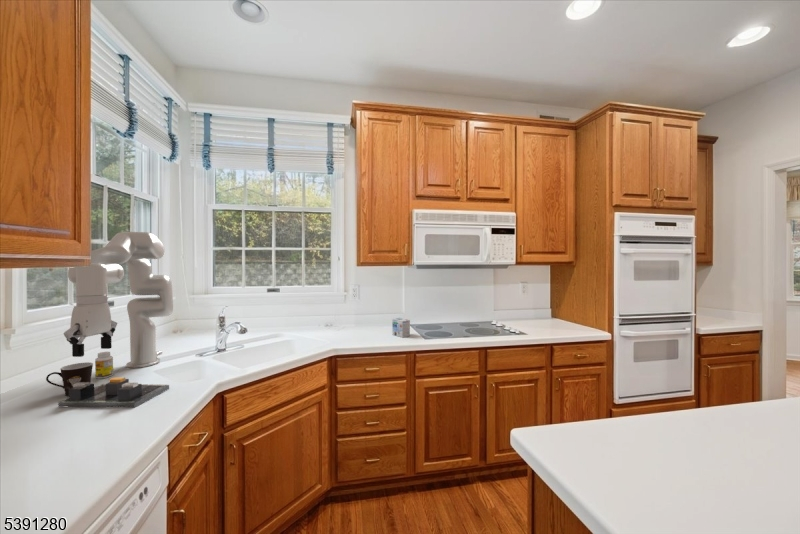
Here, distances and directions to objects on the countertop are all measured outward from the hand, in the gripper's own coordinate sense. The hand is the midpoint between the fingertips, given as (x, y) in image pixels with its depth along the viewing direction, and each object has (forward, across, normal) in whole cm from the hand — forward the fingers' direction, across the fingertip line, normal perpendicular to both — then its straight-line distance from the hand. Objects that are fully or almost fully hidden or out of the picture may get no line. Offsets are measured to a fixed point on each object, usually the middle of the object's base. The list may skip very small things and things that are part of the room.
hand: (92, 352), depth 108 cm
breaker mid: (+17, -10, 0) cm, 20 cm away
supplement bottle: (+19, -30, -24) cm, 43 cm away
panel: (+19, -10, 0) cm, 21 cm away
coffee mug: (+19, -13, -20) cm, 31 cm away
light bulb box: (+19, -108, +101) cm, 149 cm away
